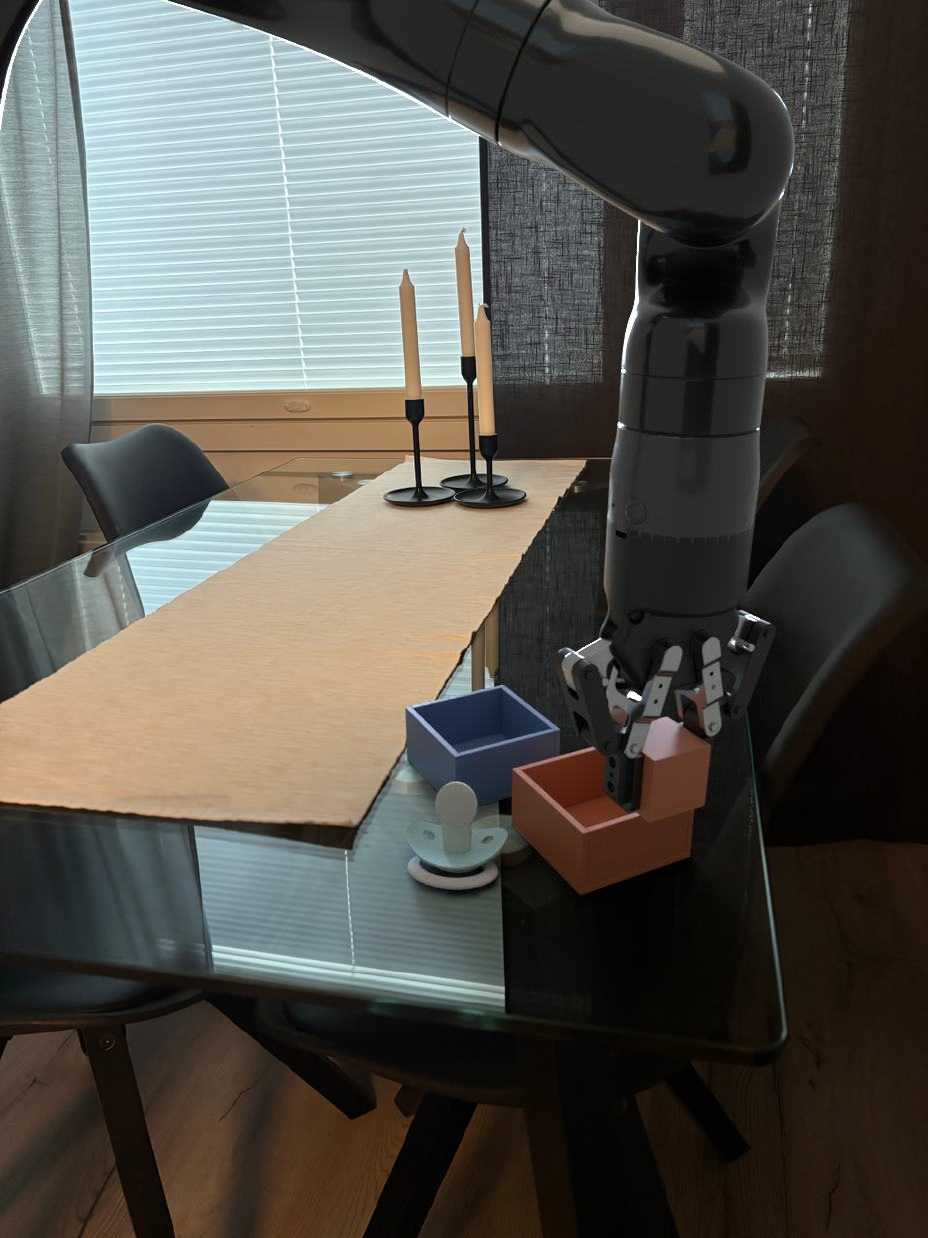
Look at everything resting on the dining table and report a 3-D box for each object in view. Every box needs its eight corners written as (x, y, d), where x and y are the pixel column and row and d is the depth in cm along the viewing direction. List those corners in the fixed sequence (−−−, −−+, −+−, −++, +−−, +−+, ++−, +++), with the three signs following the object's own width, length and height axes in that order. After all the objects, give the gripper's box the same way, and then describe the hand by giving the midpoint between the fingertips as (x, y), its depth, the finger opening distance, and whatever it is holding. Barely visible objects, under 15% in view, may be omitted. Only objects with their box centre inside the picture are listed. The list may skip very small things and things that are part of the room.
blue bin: (455, 813, 75) (455, 757, 73) (406, 758, 83) (405, 707, 81) (558, 783, 79) (560, 729, 77) (502, 734, 87) (503, 684, 85)
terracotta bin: (580, 895, 65) (583, 834, 63) (511, 825, 73) (512, 768, 71) (690, 857, 69) (695, 797, 67) (613, 794, 77) (616, 739, 75)
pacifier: (499, 901, 65) (510, 847, 70) (500, 824, 62) (510, 774, 68) (394, 890, 66) (413, 838, 71) (391, 815, 64) (410, 767, 69)
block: (649, 823, 54) (654, 761, 52) (608, 790, 57) (611, 730, 55) (705, 806, 55) (711, 745, 54) (662, 774, 59) (667, 716, 57)
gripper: (736, 482, 56) (708, 740, 62) (526, 510, 50) (519, 794, 56) (835, 512, 50) (793, 796, 56) (609, 549, 44) (590, 862, 50)
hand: (656, 793), depth 56 cm, fingers closed on block, 4 cm apart
